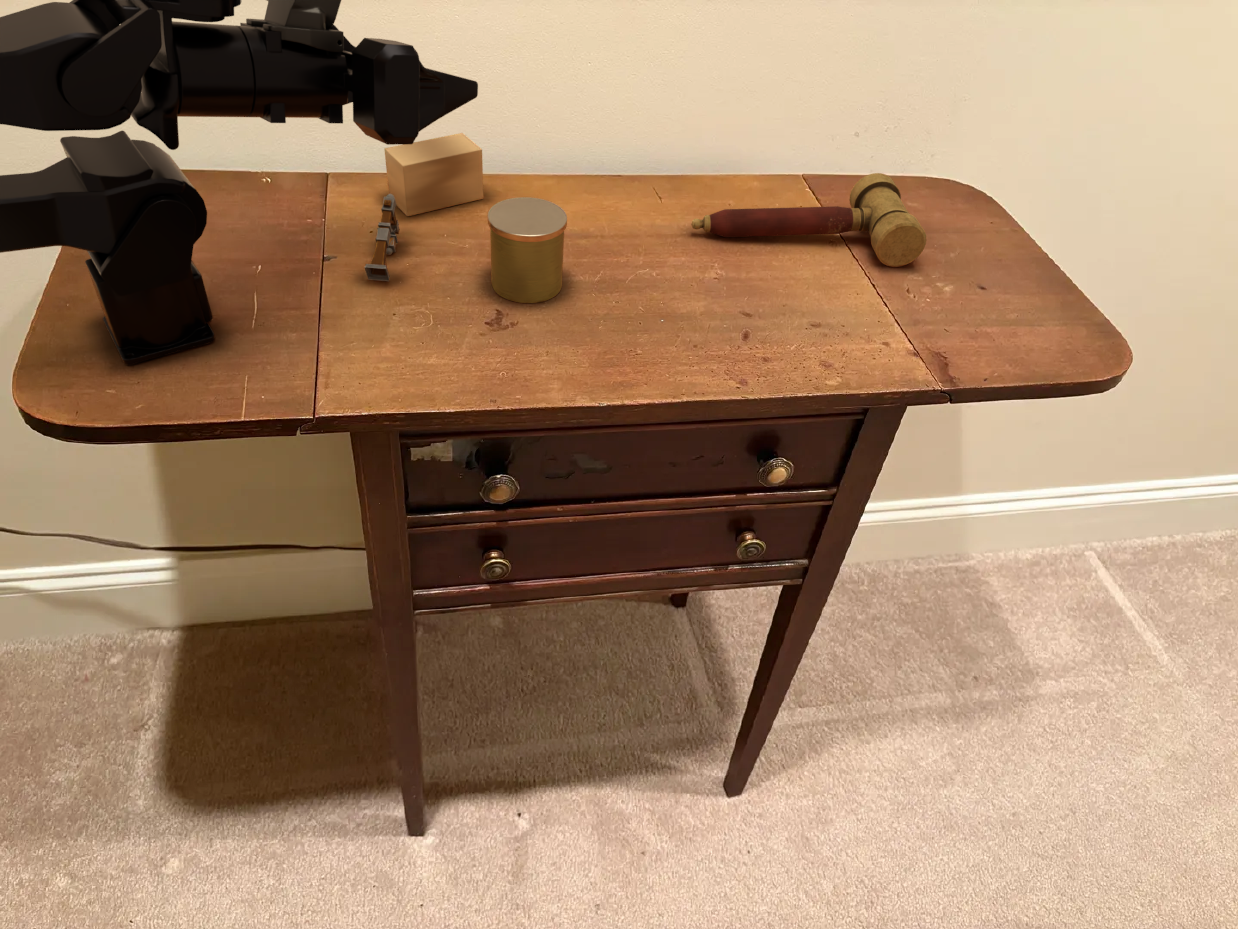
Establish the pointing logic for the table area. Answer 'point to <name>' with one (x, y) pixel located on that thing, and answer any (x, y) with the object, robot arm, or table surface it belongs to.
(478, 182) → the birch block
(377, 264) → the wooden lantern post
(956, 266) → the table surface
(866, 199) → the gavel
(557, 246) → the enamel tin
